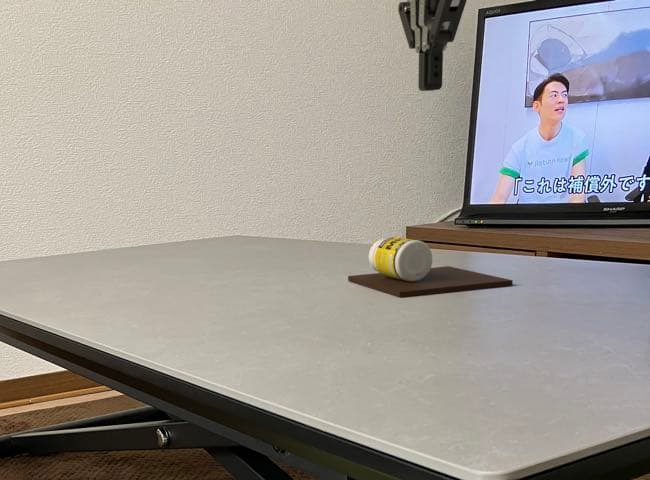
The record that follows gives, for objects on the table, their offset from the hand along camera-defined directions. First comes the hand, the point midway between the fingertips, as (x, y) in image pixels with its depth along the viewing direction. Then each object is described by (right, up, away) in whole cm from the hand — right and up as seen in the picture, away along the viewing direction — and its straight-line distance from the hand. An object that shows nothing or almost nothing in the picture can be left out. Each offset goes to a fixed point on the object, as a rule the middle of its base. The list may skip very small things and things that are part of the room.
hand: (430, 90), depth 101 cm
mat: (+1, -19, +8) cm, 21 cm away
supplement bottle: (-1, -18, +4) cm, 18 cm away
